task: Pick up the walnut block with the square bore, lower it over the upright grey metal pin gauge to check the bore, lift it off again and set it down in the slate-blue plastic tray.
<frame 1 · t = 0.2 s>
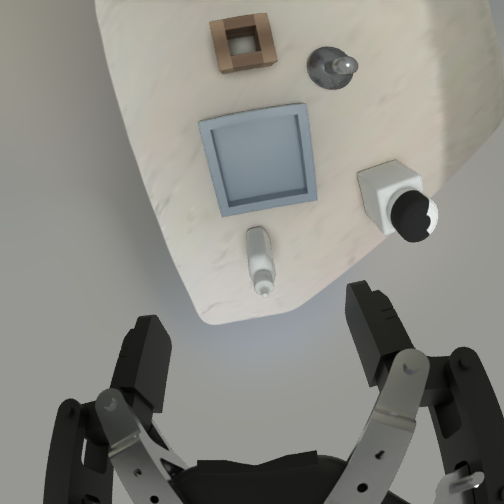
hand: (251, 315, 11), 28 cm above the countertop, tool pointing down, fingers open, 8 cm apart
eye dropper bottle: (258, 241, 42), on the countertop
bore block: (242, 48, 27), on the countertop
medicine bottle: (380, 185, 38), on the countertop
tray: (260, 156, 35), on the countertop
pin gauge: (329, 68, 28), on the countertop
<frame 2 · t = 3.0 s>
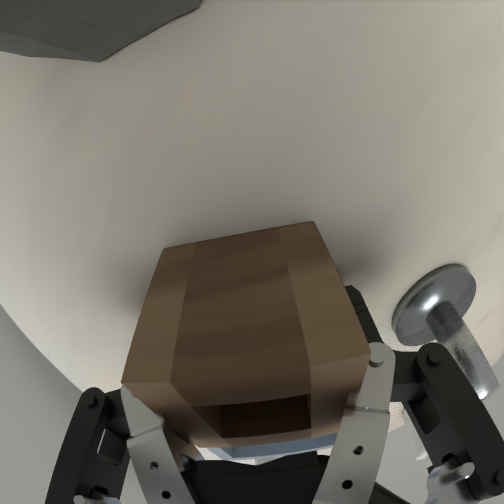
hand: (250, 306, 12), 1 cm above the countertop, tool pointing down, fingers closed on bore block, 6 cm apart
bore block: (250, 292, 12), on the countertop, touching gripper
medicine bottle: (429, 393, 24), on the countertop
tray: (277, 415, 21), on the countertop
pin gauge: (433, 304, 14), on the countertop
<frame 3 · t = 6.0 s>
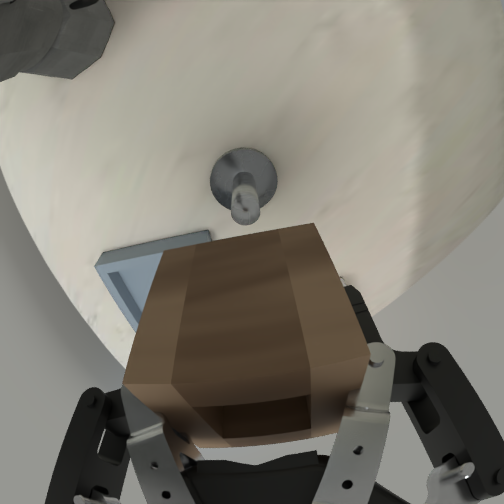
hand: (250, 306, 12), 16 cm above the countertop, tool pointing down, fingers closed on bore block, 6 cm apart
coffeepot: (83, 33, 15), on the countertop
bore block: (250, 293, 12), point 15 cm above the countertop, touching gripper
tray: (170, 287, 32), on the countertop
pin gauge: (243, 179, 25), on the countertop
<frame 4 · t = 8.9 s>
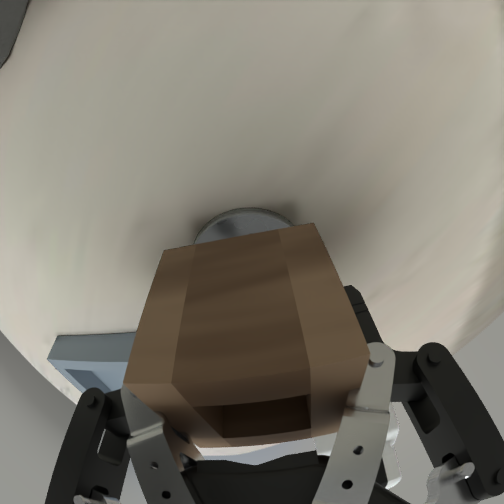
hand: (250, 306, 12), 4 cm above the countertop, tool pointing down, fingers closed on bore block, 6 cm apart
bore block: (250, 293, 12), point 3 cm above the countertop, touching gripper
medicine bottle: (345, 388, 24), on the countertop
tray: (150, 379, 21), on the countertop
pin gauge: (249, 260, 15), on the countertop
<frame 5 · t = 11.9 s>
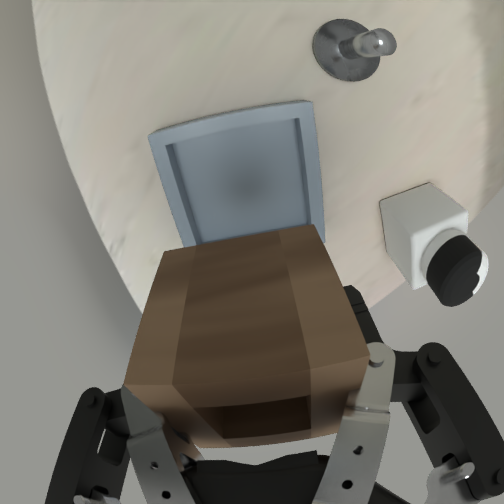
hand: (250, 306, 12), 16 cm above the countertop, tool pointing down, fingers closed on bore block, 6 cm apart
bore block: (251, 294, 12), point 15 cm above the countertop, touching gripper
medicine bottle: (407, 216, 28), on the countertop
tray: (243, 180, 25), on the countertop
pin gauge: (345, 50, 18), on the countertop
when the fingers open (3 cm above the countertop, at t = 14.6 s): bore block drops 1 cm, resting on tray.
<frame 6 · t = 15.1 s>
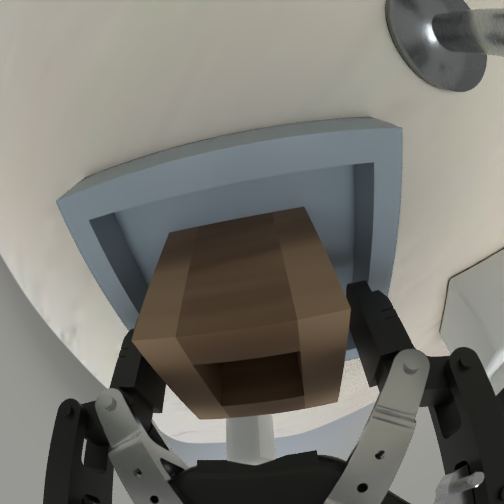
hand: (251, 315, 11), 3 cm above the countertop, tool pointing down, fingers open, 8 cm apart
eye dropper bottle: (248, 387, 21), on the countertop
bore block: (248, 273, 13), point 1 cm above the countertop, touching tray
medicine bottle: (473, 290, 17), on the countertop
tray: (248, 265, 14), on the countertop
pin gauge: (437, 33, 7), on the countertop
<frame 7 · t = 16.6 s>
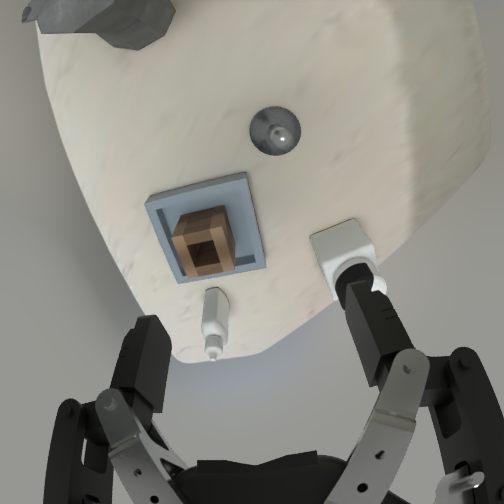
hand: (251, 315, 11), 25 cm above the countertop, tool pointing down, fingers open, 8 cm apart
eye dropper bottle: (217, 299, 45), on the countertop
coffeepot: (147, 17, 21), on the countertop
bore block: (208, 229, 37), point 1 cm above the countertop, touching tray
medicine bottle: (337, 244, 40), on the countertop
tray: (209, 227, 37), on the countertop
pin gauge: (274, 130, 31), on the countertop
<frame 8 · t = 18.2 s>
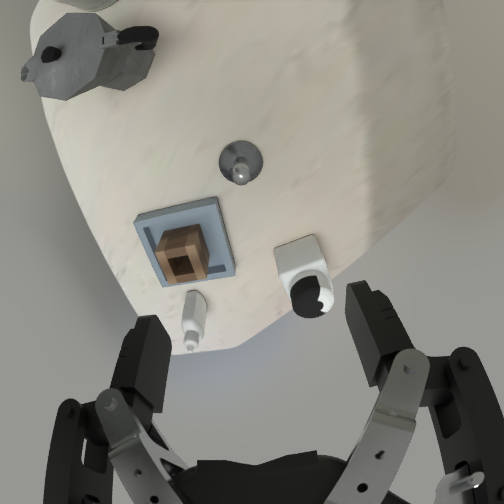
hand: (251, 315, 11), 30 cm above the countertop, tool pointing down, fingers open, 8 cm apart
eye dropper bottle: (196, 299, 52), on the countertop
coffeepot: (131, 59, 27), on the countertop
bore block: (187, 243, 43), point 1 cm above the countertop, touching tray
medicine bottle: (299, 256, 47), on the countertop
tray: (187, 241, 44), on the countertop
pin gauge: (240, 161, 37), on the countertop
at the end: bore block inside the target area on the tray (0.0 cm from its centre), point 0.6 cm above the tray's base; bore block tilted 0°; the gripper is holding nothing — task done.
